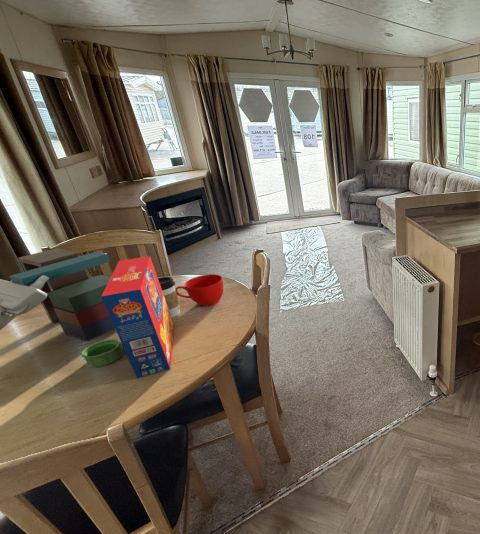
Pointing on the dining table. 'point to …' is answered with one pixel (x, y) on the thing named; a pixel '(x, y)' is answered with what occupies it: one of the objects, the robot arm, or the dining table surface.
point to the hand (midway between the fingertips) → (37, 274)
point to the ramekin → (102, 352)
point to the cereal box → (140, 315)
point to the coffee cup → (170, 295)
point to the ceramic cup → (204, 289)
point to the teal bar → (61, 268)
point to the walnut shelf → (51, 285)
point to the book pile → (83, 308)
